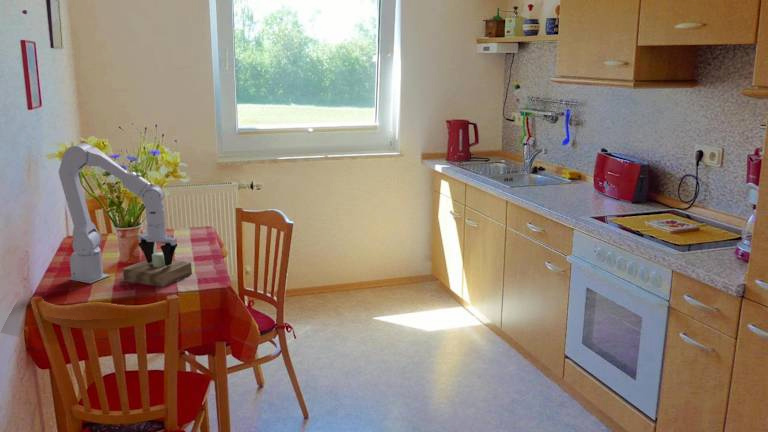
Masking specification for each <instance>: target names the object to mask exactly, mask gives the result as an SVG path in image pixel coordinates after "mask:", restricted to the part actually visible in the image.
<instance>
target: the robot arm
mask: <svg viewBox="0 0 768 432" xmlns="http://www.w3.org/2000/svg"><path fill="white" fill-rule="evenodd" d="M61 156H62V159H61V162H60V166H59V168H58V176H59V180H60V183H61V186H62V190H63V194H64V198H65V201H66V204H67V207H68V211H69V214H70V217H71V221H72V225H73V229H72V233H71V235H72V239H73V241H72V249H73V251H74V252H72V254H71V255H70V258H69V265H70V267H69V268H70V274H71V277H69V280H70V281H76V282H81V283H86V284H93V283H95V282H98V281H100V280H101V281H102V280H103V279H106V278H108V277H110V274H108V273H104V271H103V262H102V261H103V260H102V252H101V248H100V245H101V244H102V240H103V239H102V235H101V233H100V231H98V229H97V228H96V225H95V223H94V222H92V221H91V220H92V219H91V216H90V212H89V210H88V205H87V202H86V198H85V195H84V192H83V188H82V184H81V181H80V177H79V174H80V172H81V171H82V169H84V167H85V166H86V167H99V168H100V169H102V170H103V171H106V172H107V173H109V174H110V175H111V176H113V177H115V178H117V179H118V180H120V181H121V185H122V187H123V188H125V189H126V190H128V191H129V192H131V193H132V194H133V195H135V196H137V197H138V198H141V201H142V202H143V205H145V218H146V219H145V220H146V223H147V233H148V234H143V233H140V234H138V235H137V236H138V237H137V240H138V244H137V245H138V247H139V248H140V249H141V250H142V252H143V256H145V260H147V262H148V263H150V262H152V254H154V243H155V242H157V243H159V244H163V245H160V249H161V252H162V253H163V255H164V261H165V265H166V266H168V265H171V263H172V260H173V257H174V254H175V250H176V249H177V246H178V240H177V238H176V237H173V236H169V235H167V230H166V229H167V228H166V227H167V225H166V215H165V207H164V206H165V205H164V201H163V200H164V198H165V190H164V189H163V188H162V187H161V186H160V185H156V184H155V183H153V182H149V181H148V180H147V179H145V178H144V177H143V176H142V174H141V173H140V172H135V171H131V172H129V171H127V170H126V169H124V168H123V167H122V166H121V165H119V163H116V162H115V161H114V160H112V159H111V158H110V157H109V156H107V155H106V154H105V153H104V152H103V151H101V150H100V149H99V148H97V147H94V146H93V145H92V144H91V143H90V142H89V143H88V142H80V143H78V144H76V145H72V146H69V147H68V148H67V149H66V150H65V151H64V152H63V153H62V155H61ZM139 241H140V242H139Z"/></svg>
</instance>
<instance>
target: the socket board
mask: <svg viewBox="0 0 768 432" xmlns="http://www.w3.org/2000/svg"><path fill="white" fill-rule="evenodd" d="M122 273H123V274H122V275H123V276H122V277H123V281H126V282H132V283H135V284H136V283H138V284H142V285H148V286H155V287H158V288H159V287H160V288H164V287H166V286H169V285H170V284H173V283H175V282H177V281H179V280H182V279H184V278H187V277H189V276H190V275H192V274H193V271H192V262H190V261H184V260H183V261H182V260H177V259H172V263H171V265H168V266H164V267H162V268H156V267H153V262H150V263H148V262H147V260H146V259H144V260H141V261H139V262H136V263H134V264H131V265H128V266H126V267H123V268H122Z"/></svg>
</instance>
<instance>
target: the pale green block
mask: <svg viewBox="0 0 768 432" xmlns="http://www.w3.org/2000/svg"><path fill="white" fill-rule="evenodd" d="M152 262H153V267H156V268H162V267H164V266H166V265H165V261H164V255H163V252H162V251H161V252H160V251H158V252H157V253H154V254H152Z"/></svg>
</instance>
